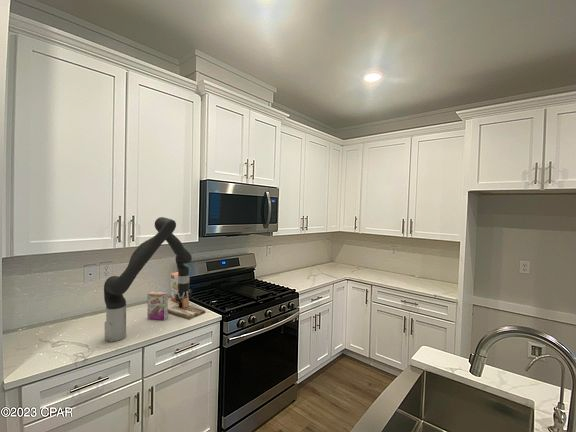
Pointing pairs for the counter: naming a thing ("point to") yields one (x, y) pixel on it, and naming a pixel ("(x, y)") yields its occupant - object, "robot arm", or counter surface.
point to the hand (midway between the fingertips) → (183, 306)
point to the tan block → (184, 302)
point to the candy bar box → (157, 305)
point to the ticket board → (186, 312)
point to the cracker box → (174, 285)
